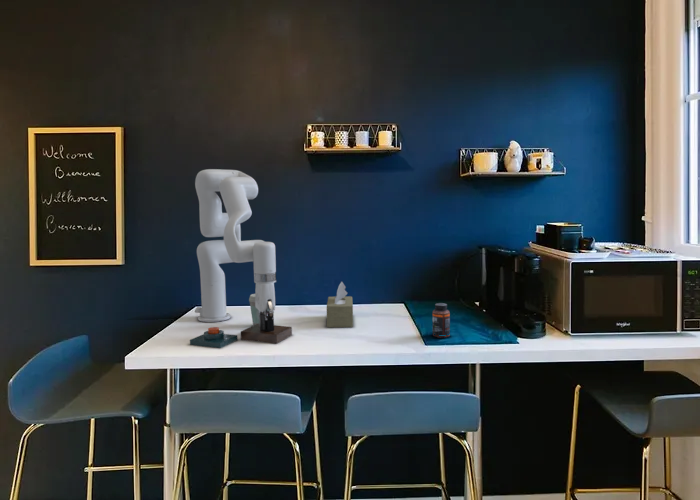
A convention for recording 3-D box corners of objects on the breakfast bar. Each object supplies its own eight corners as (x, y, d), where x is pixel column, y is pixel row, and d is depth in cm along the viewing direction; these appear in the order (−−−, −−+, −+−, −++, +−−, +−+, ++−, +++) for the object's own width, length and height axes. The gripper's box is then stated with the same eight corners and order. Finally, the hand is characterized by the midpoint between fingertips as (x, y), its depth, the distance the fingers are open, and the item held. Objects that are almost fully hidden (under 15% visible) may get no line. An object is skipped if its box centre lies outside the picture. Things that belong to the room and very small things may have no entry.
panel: (240, 339, 173) (240, 331, 173) (257, 331, 183) (257, 323, 183) (276, 343, 168) (276, 334, 168) (292, 335, 178) (291, 326, 178)
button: (206, 334, 169) (205, 329, 169) (212, 331, 172) (212, 326, 172) (215, 335, 168) (214, 330, 168) (221, 332, 171) (221, 327, 171)
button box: (189, 344, 168) (189, 334, 168) (208, 336, 177) (208, 327, 177) (220, 348, 164) (219, 337, 163) (237, 340, 173) (237, 330, 173)
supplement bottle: (450, 334, 177) (451, 302, 176) (448, 339, 171) (448, 306, 170) (433, 333, 179) (434, 301, 178) (430, 337, 173) (431, 305, 172)
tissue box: (353, 327, 188) (352, 285, 186) (326, 327, 188) (326, 285, 186) (352, 315, 206) (352, 277, 205) (328, 315, 206) (328, 277, 205)
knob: (269, 331, 172) (268, 314, 172) (257, 330, 174) (256, 313, 173) (276, 327, 177) (275, 311, 176) (264, 326, 178) (263, 310, 178)
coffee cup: (253, 330, 186) (252, 298, 184) (246, 324, 193) (245, 294, 192) (275, 327, 190) (274, 295, 188) (268, 322, 197) (267, 291, 196)
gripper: (248, 275, 180) (250, 324, 182) (260, 282, 164) (262, 336, 166) (269, 273, 183) (270, 321, 185) (282, 280, 167) (284, 333, 169)
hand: (266, 328), depth 175 cm, fingers open, 6 cm apart
